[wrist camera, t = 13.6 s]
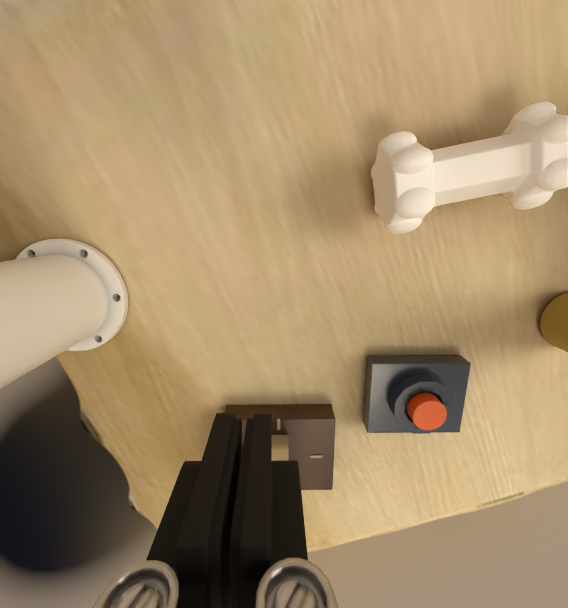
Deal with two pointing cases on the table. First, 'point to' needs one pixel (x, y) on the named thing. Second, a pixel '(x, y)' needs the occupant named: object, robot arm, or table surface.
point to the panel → (301, 437)
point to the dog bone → (472, 168)
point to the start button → (426, 411)
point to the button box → (413, 390)
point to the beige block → (279, 447)
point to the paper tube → (556, 322)
